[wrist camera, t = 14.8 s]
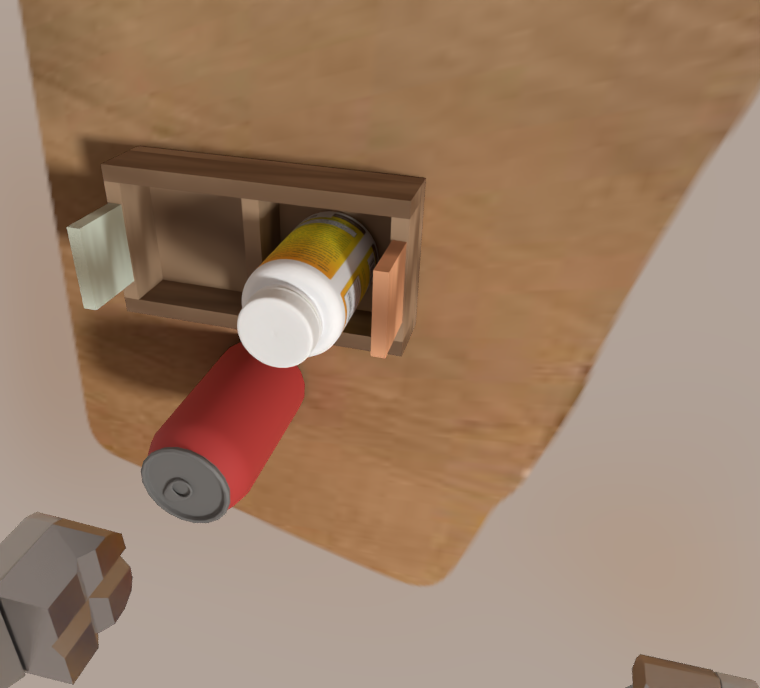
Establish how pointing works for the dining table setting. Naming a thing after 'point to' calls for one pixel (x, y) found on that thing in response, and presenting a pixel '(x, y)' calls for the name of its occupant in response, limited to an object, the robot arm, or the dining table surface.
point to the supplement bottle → (307, 290)
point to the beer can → (221, 436)
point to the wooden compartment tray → (241, 237)
